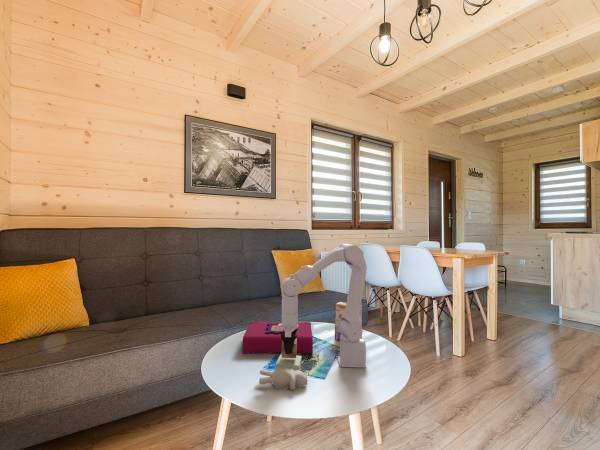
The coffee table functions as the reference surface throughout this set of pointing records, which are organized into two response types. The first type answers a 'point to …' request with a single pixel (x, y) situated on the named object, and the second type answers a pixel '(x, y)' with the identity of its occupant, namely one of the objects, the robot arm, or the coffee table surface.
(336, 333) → the candy bar box
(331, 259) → the robot arm
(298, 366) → the sage block
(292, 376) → the bunny figurine
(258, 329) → the book
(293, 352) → the walnut cube
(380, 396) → the coffee table surface
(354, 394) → the coffee table surface
